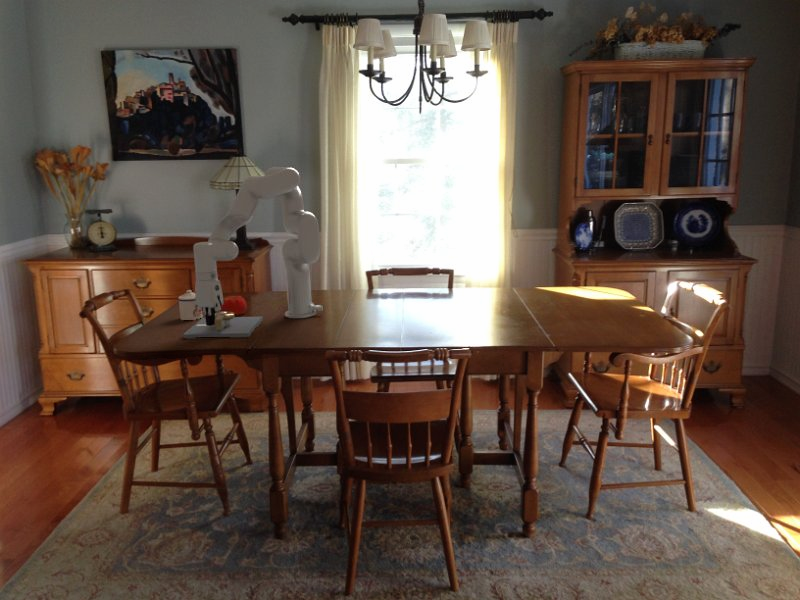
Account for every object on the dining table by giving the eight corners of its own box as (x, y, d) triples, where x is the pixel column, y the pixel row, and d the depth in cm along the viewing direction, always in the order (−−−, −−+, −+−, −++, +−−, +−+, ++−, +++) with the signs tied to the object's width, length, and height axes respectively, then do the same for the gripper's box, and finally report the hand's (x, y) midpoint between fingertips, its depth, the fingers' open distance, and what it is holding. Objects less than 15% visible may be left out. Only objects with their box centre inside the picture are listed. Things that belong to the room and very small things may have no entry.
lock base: (262, 320, 269) (261, 310, 268) (248, 337, 245) (247, 326, 244) (202, 321, 269) (201, 311, 268) (183, 338, 246) (182, 327, 245)
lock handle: (215, 320, 260) (214, 310, 259) (236, 319, 261) (235, 309, 260) (207, 330, 246) (206, 319, 245) (229, 329, 247) (228, 318, 246)
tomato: (227, 311, 285) (225, 294, 283) (251, 312, 283) (250, 294, 281) (216, 317, 275) (214, 300, 273) (241, 318, 273) (239, 300, 271)
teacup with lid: (197, 321, 270) (194, 292, 267) (176, 321, 271) (173, 292, 268) (209, 313, 281) (207, 286, 279) (189, 313, 283) (186, 286, 280)
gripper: (229, 276, 245) (233, 324, 249) (200, 273, 252) (204, 320, 257) (213, 279, 239) (218, 329, 243) (184, 276, 246) (189, 325, 250)
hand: (210, 324), depth 250 cm, fingers closed
